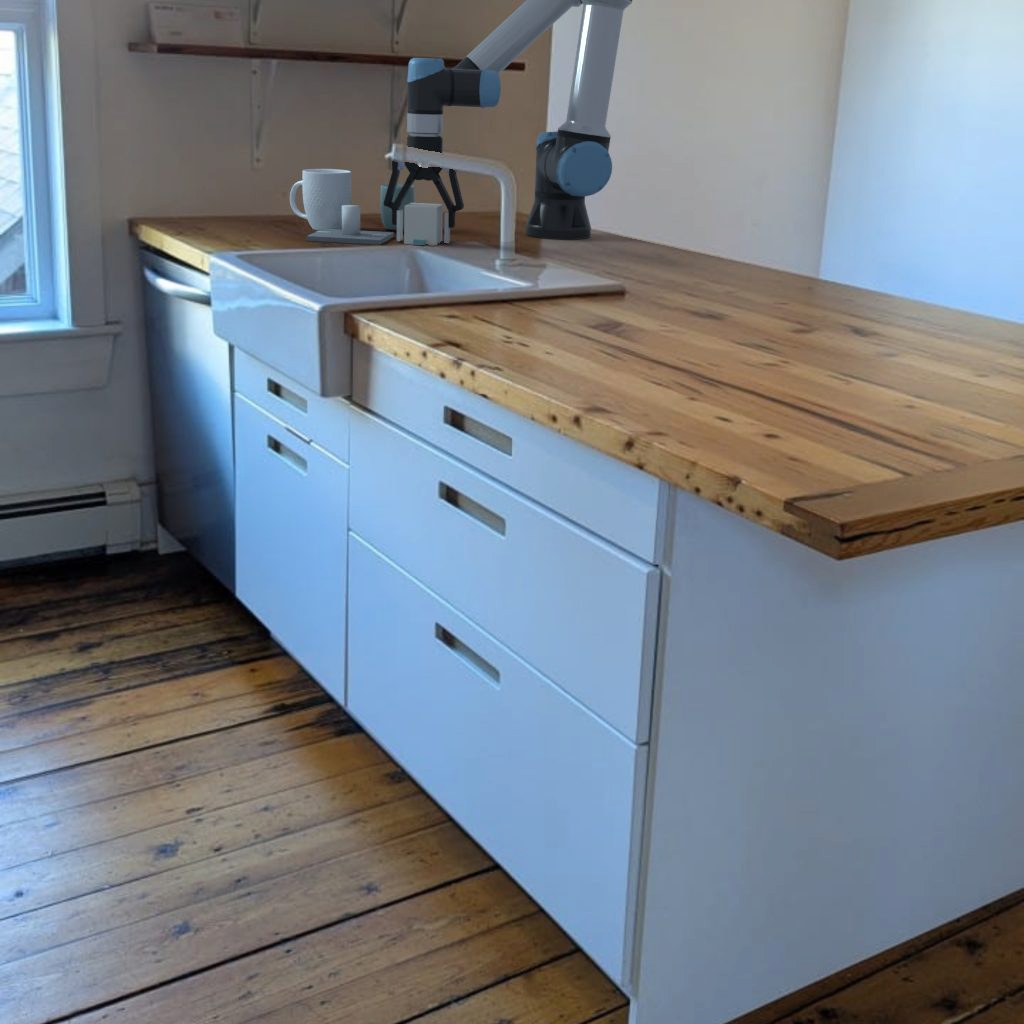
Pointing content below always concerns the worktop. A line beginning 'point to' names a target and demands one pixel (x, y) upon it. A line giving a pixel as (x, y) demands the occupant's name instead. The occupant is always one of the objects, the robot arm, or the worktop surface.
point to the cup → (386, 211)
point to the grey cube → (423, 223)
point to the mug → (323, 197)
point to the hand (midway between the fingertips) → (423, 241)
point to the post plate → (350, 238)
